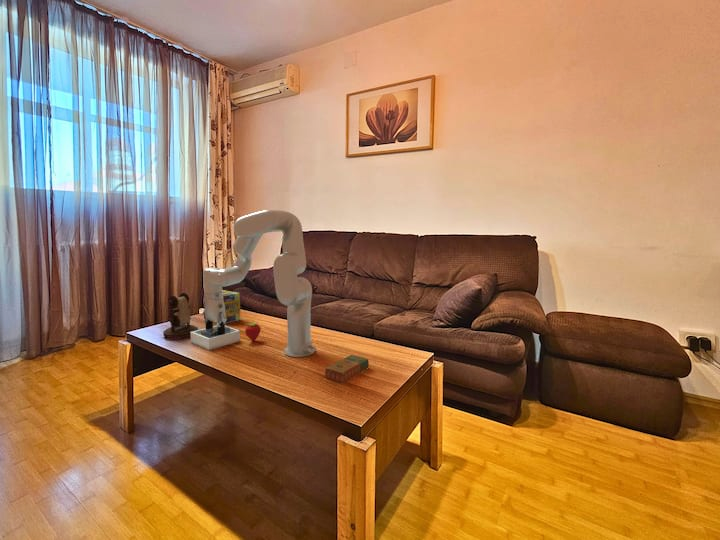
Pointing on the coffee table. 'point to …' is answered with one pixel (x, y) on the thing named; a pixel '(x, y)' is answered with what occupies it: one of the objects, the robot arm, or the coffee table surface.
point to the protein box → (231, 306)
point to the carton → (346, 368)
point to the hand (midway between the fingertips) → (215, 332)
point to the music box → (180, 323)
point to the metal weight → (213, 332)
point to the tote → (215, 339)
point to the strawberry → (252, 331)
